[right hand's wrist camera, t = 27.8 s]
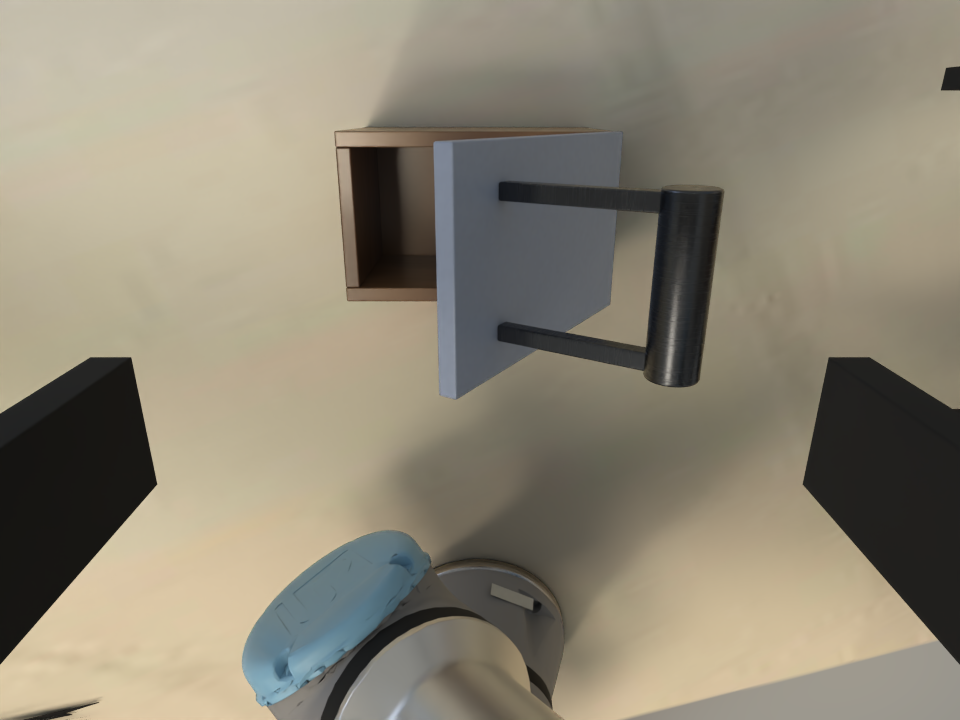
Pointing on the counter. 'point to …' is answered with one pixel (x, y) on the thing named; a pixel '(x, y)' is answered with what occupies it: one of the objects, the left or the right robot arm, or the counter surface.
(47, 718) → the feather
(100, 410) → the right robot arm
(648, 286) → the counter surface
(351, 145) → the chest
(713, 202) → the lid
